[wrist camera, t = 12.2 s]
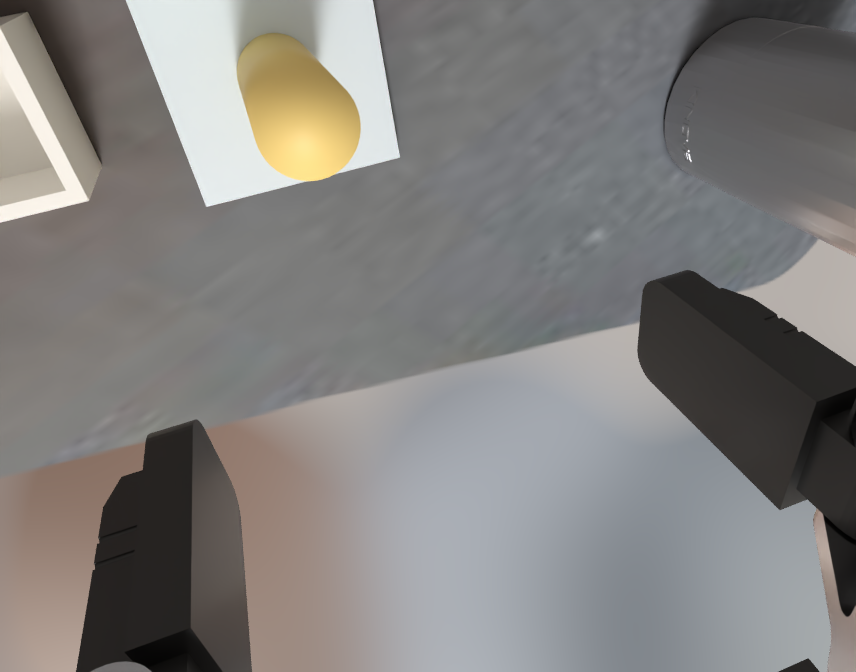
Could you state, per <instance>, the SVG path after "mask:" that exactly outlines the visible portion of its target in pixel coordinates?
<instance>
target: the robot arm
mask: <svg viewBox="0 0 856 672" xmlns="http://www.w3.org/2000/svg"><path fill="white" fill-rule="evenodd" d="M664 136H665V141H666V145H667V150H668V152H669V154H670V156H671V158H672V160H673V161H674V163H675V164H676V165H677V166H678V167H679V168H680V169H681V170H683V171H685V172H687V173H688V174H690V175H692V176H694V177H696V178H698V179H700V180H702V181H704V182H706V183H708V184H710V185H712V186H714V187H716V188H718V189H720V190H722V191H724V192H726V193H728V194H730V195H732V196H734V197H736V198H738V199H740V200H742V201H744V202H746V203H748V204H750V205H752V206H754V207H756V208H758V209H760V210H762V211H764V212H766V213H768V214H770V215H772V216H774V217H776V218H778V219H780V220H782V221H784V222H786V223H788V224H790V225H792V226H794V227H796V228H798V229H800V230H802V231H804V232H806V233H808V234H810V235H812V236H814V237H816V238H818V239H820V240H823V241H825V242H827V243H829V244H831V245H833V246H835V247H837V248H839V249H841V250H843V251H845V252H847V253H849V254H851V255H853V256H855V257H856V33H854V32H848V31H841V30H835V29H829V28H823V27H818V26H812V25H806V24H799V23H793V22H787V21H780V20H774V19H767V18H754V17H751V18H747V19H742V20H738V21H736V22H733V23H731V24H729V25H727V26H725V27H723V28H721V29H720V30H719V31H717V32H716V33H715V34H713V35H712V36H711V37H709V38H708V39H707V40H706V41H705V42H704V43H703V44H702V45H701V46H700V47H699V48H698V49H697V50H696V51H695V52H694V54H693V55H692V56H691V58H690V59H689V61H688V62H687V63H686V65H685V66H684V67H683V69H682V71H681V73H680V75H679V77H678V79H677V80H676V82H675V84H674V86H673V89H672V92H671V95H670V98H669V101H668V104H667V109H666V115H665V134H664ZM638 358H639V362H640V365H641V367H642V369H643V372H644V373H645V375H646V376H647V378H648V379H649V380H650V381H651V382H652V383H653V384H654V385H655V386H656V387H657V388H658V389H659V390H660V391H661V392H662V393H663V394H664V395H665V396H666V397H667V398H668V399H669V400H670V401H671V402H672V403H673V404H674V405H675V406H676V407H677V408H678V409H679V410H680V411H681V412H682V413H683V414H684V415H685V416H686V417H687V418H688V419H689V420H690V421H691V422H692V423H693V424H694V425H695V426H696V427H697V428H698V429H699V430H700V431H701V432H702V433H703V434H704V435H705V436H706V437H707V438H708V439H709V440H710V441H711V442H712V443H713V444H714V445H715V446H716V447H717V448H718V449H719V450H720V451H721V452H722V453H723V454H724V455H725V456H726V457H727V458H728V459H729V460H730V461H731V462H732V463H733V464H734V465H735V466H736V467H737V468H738V469H739V470H740V471H741V472H742V473H743V474H744V475H745V476H746V477H747V478H748V479H749V480H750V481H751V482H752V483H753V484H754V485H755V486H756V487H757V488H758V489H759V490H760V491H761V492H762V493H763V494H764V495H765V496H766V497H767V498H768V499H769V500H770V501H771V502H772V503H773V504H774V505H775V506H776V507H777V508H778V509H779V510H781V509H784V508H787V507H789V506H791V505H794V504H796V503H799V502H802V501H804V500H807V499H808V500H809V501H810V502H811V503H812V504H813V505H814V506H815V507H816V508H817V509H816V512H815V514H814V519H813V522H814V530H815V536H816V542H817V548H818V554H819V560H820V566H821V572H822V577H823V583H824V589H825V595H826V601H827V607H828V613H829V619H830V624H831V646H830V652H829V659H828V672H856V366H854V365H853V364H851V363H850V362H848V361H846V360H845V359H844V358H842V357H841V356H839V355H838V354H836V353H834V352H833V351H831V350H830V349H828V348H827V347H825V346H824V345H822V344H821V343H819V342H818V341H816V340H815V339H813V338H812V337H810V336H809V335H807V334H806V333H804V332H803V331H801V332H798V330H797V327H795V326H793V325H792V324H791V323H789V322H788V321H786V320H785V319H783V318H780V319H779V318H778V317H777V314H776V313H774V312H773V311H771V310H770V309H768V308H767V307H765V306H764V305H762V304H760V303H759V302H758V301H756V300H754V299H753V298H750V297H747V296H744V295H741V294H738V293H736V292H733V291H730V290H727V289H724V288H721V289H719V288H717V287H716V286H714V285H713V284H712V283H710V282H709V281H707V280H706V279H704V278H703V277H701V276H700V275H698V274H697V273H695V272H693V271H690V270H686V271H682V272H679V273H675V274H672V275H669V276H666V277H662V278H659V279H656V280H653V281H650V282H648V283H647V284H646V285H645V287H644V289H643V294H642V304H641V315H640V327H639V337H638ZM98 538H99V542H100V543H99V544H97V548H96V554H95V561H94V564H95V570H93V572H92V579H91V585H90V591H89V597H88V603H87V609H86V615H85V621H84V628H83V634H82V639H81V646H80V652H79V657H78V664H77V670H76V672H252V667H251V654H250V641H249V626H248V612H247V598H246V585H245V571H244V557H243V543H242V529H241V516H240V510H239V505H238V501H237V497H236V494H235V491H234V488H233V485H232V483H231V481H230V479H229V476H228V474H227V473H226V471H225V469H224V467H223V465H222V463H221V461H220V459H219V457H218V455H217V453H216V451H215V449H214V447H213V445H212V443H211V441H210V439H209V437H208V435H207V433H206V431H205V429H204V427H203V426H202V424H201V423H200V422H199V421H198V420H193V421H190V422H186V423H183V424H180V425H177V426H173V427H170V428H167V429H164V430H160V431H157V432H154V433H151V434H149V435H148V436H147V438H146V444H145V454H144V464H143V470H142V471H139V472H136V473H132V474H129V475H126V476H123V477H121V479H120V480H119V482H118V484H117V485H116V487H115V489H114V490H113V492H112V494H111V495H110V497H109V499H108V500H107V502H106V504H105V505H104V507H103V512H102V518H101V524H100V530H99V536H98ZM779 672H819V671H818V669H817V668H816V667H815V666H814V664H813V663H812V662H811V661H810V660H809V659H806V660H804V661H801V662H799V663H797V664H795V665H792V666H790V667H788V668H786V669H783V670H781V671H779Z"/></svg>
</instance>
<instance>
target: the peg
mask: <svg viewBox="0 0 856 672" xmlns="http://www.w3.org/2000/svg"><path fill="white" fill-rule="evenodd" d="M237 80H238V84H239V88H240V91H241V94H242V98H243V101H244V105H245V108H246V111H247V115H248V118H249V121H250V125H251V128H252V131H253V135H254V138H255V141H256V144H257V147H258V149H259V151H260V153H261V154H262V156H263V157H264V159H265V160H266V161H267V162H268V163H269V165H270V166H272V167H273V168H274V169H275V170H276V171H278V172H279V173H281V174H283V175H285V176H287V177H289V178H292V179H296V180H301V181H316V180H321V179H324V178H327V177H330V176H332V175H334V174H335V173H337V172H339V171H340V170H341V169H342V168H343V167H345V166H346V164H347V163H348V162H349V161H350V160H351V158H352V157H353V155H354V153H355V151H356V149H357V146H358V143H359V139H360V133H361V123H360V116H359V112H358V109H357V107H356V104H355V102H354V100H353V99H352V97H351V95H350V94H349V93H348V91H347V90H346V89H345V88H344V87H343V86H342V85H341V84H340V83H339V82H338V81H337V80H336V79H335V78H334V77H333V76H332V75H331V73H330V72H329V71H328V70H327V69H326V68H325V67H324V66H323V65H322V64H321V63H320V62H319V61H318V60H317V59H316V58H315V57H314V56H313V55H312V54H311V53H310V51H309V50H308V49H307V48H306V47H305V46H304V45H303V44H302V43H300V42H299V41H298V40H296V39H295V38H293V37H291V36H288V35H285V34H281V33H267V34H263V35H260V36H258V37H256V38H254V39H253V40H251V41H250V42H249V43H248V44H247V45H246V46H245V48H244V49H243V51H242V52H241V55H240V57H239V60H238V64H237Z"/></svg>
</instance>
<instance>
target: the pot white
mask: <svg viewBox="0 0 856 672" xmlns="http://www.w3.org/2000/svg"><path fill="white" fill-rule="evenodd" d="M101 167H102V165H101V163H100V160H99V158H98V156H97V154H96V152H95V150H94V148H93V146H92V144H91V142H90V140H89V138H88V136H87V134H86V131H85V129H84V127H83V125H82V123H81V121H80V119H79V117H78V115H77V113H76V111H75V109H74V107H73V104H72V102H71V100H70V98H69V96H68V94H67V92H66V90H65V88H64V86H63V84H62V82H61V80H60V77H59V75H58V73H57V71H56V69H55V67H54V65H53V63H52V61H51V59H50V57H49V55H48V53H47V50H46V48H45V46H44V44H43V42H42V40H41V38H40V36H39V34H38V32H37V30H36V28H35V26H34V23H33V21H32V19H31V17H30V15H29V13H28V12H24V13H19V14H13V15H8V16H3V17H0V222H4V221H8V220H12V219H16V218H20V217H25V216H29V215H33V214H37V213H41V212H45V211H49V210H53V209H57V208H61V207H65V206H69V205H73V204H77V203H82V202H86V201H89V199H90V197H91V194H92V191H93V189H94V186H95V183H96V181H97V178H98V175H99V173H100V170H101Z"/></svg>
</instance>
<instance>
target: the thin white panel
mask: <svg viewBox="0 0 856 672" xmlns="http://www.w3.org/2000/svg"><path fill="white" fill-rule="evenodd" d="M126 2H127V4H128V7H129V9H130V12H131V14H132V17H133V19H134V22H135V25H136V27H137V30H138V32H139V35H140V37H141V40H142V43H143V45H144V48H145V50H146V53H147V55H148V58H149V60H150V63H151V66H152V68H153V71H154V73H155V76H156V78H157V81H158V84H159V86H160V89H161V91H162V94H163V96H164V99H165V101H166V104H167V107H168V109H169V112H170V114H171V117H172V119H173V122H174V125H175V127H176V130H177V132H178V135H179V137H180V140H181V142H182V145H183V148H184V150H185V153H186V155H187V158H188V160H189V163H190V166H191V168H192V171H193V173H194V176H195V178H196V181H197V184H198V186H199V189H200V191H201V194H202V196H203V199H204V201H205V204H206V207H208V206H212V205H216V204H220V203H224V202H227V201H231V200H235V199H239V198H243V197H247V196H251V195H255V194H259V193H263V192H267V191H271V190H274V189H278V188H282V187H286V186H290V185H294V184H298V183H302V182H306V181H301V180H296V179H292V178H289V177H287V176H285V175H283V174H281V173H279V172H278V171H276V170H275V169H274V168H273V167H272V166H270V165H269V163H268V162H267V161H266V160H265V159H264V157H263V156H262V154H261V153H260V151H259V149H258V147H257V144H256V141H255V138H254V135H253V131H252V128H251V125H250V121H249V118H248V115H247V111H246V108H245V105H244V101H243V98H242V94H241V91H240V88H239V84H238V80H237V64H238V60H239V57H240V55H241V52H242V51H243V49H244V48H245V46H246V45H247V44H248V43H249V42H250V41H251V40H253V39H254V38H256V37H258V36H260V35H263V34H267V33H281V34H285V35H288V36H291V37H293V38H295V39H296V40H298V41H299V42H300V43H302V44H303V45H304V46H305V47H306V48H307V49H308V50H309V51H310V53H311V54H312V55H313V56H314V57H315V58H316V59H317V60H318V61H319V62H320V63H321V64H322V65H323V66H324V67H325V68H326V69H327V70H328V71H329V72H330V73H331V75H332V76H333V77H334V78H335V79H336V80H337V81H338V82H339V83H340V84H341V85H342V86H343V87H344V88H345V89H346V90H347V91H348V93H349V94H350V95H351V97H352V99H353V100H354V102H355V104H356V107H357V109H358V112H359V116H360V123H361V133H360V139H359V143H358V146H357V149H356V151H355V153H354V155H353V157H352V158H351V160H350V161H349V162H348V163H347V164H346V166H345V167H343V168H342V169H341V170H340V171H339V172H337V173H341V172H345V171H349V170H353V169H357V168H361V167H364V166H368V165H372V164H376V163H380V162H384V161H388V160H392V159H396V158H400V155H399V150H398V144H397V138H396V132H395V126H394V121H393V115H392V109H391V103H390V97H389V92H388V86H387V80H386V74H385V68H384V63H383V57H382V51H381V45H380V39H379V34H378V28H377V22H376V16H375V10H374V4H373V0H126ZM337 173H335V174H337Z"/></svg>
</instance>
